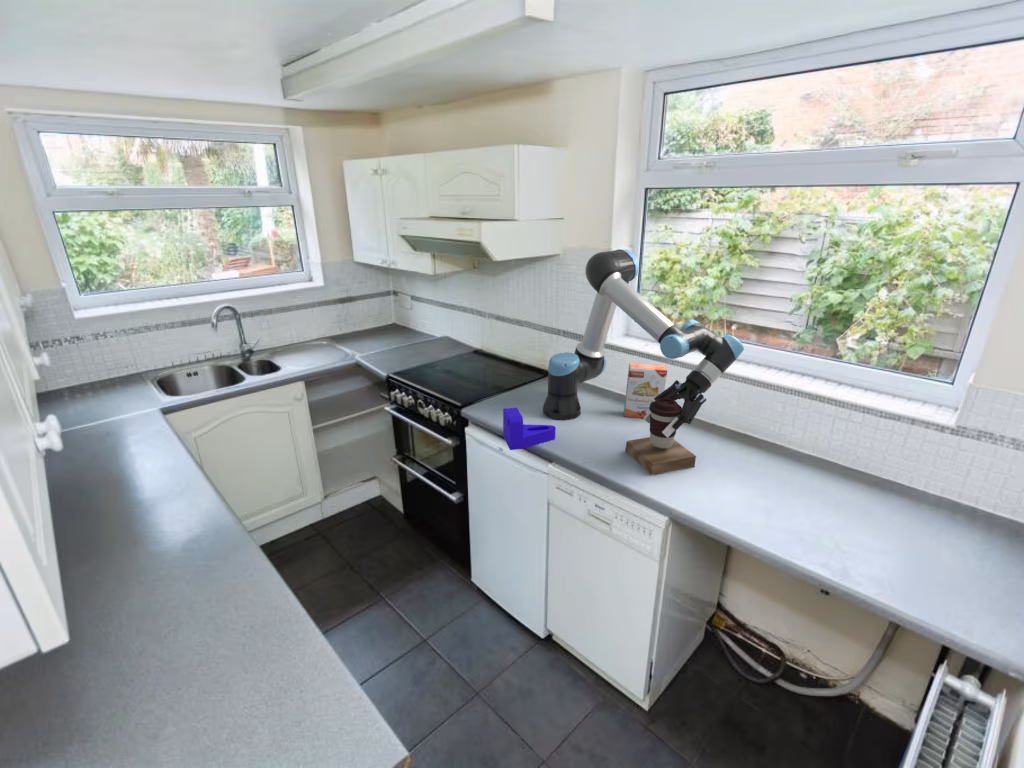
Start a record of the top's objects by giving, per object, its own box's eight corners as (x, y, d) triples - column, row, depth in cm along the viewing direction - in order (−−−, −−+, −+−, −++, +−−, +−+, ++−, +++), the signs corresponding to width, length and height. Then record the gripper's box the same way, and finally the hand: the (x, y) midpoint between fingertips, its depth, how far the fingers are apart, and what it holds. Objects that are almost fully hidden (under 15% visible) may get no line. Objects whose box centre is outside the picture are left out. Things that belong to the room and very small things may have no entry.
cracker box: (624, 417, 197) (629, 367, 190) (623, 411, 203) (628, 362, 195) (661, 420, 195) (667, 369, 187) (659, 414, 201) (666, 364, 193)
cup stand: (625, 451, 173) (626, 440, 171) (665, 444, 177) (666, 434, 176) (651, 475, 158) (653, 464, 157) (694, 466, 163) (696, 456, 162)
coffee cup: (646, 449, 162) (651, 406, 157) (644, 435, 171) (649, 394, 166) (678, 452, 160) (684, 409, 155) (674, 437, 169) (680, 396, 164)
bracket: (510, 450, 173) (510, 419, 169) (503, 436, 183) (503, 406, 178) (559, 444, 177) (561, 414, 173) (550, 431, 187) (551, 401, 182)
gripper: (733, 396, 153) (682, 450, 154) (687, 372, 173) (642, 419, 174) (721, 382, 150) (669, 437, 151) (675, 359, 170) (630, 407, 171)
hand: (655, 427), depth 163 cm, fingers closed on coffee cup, 10 cm apart
